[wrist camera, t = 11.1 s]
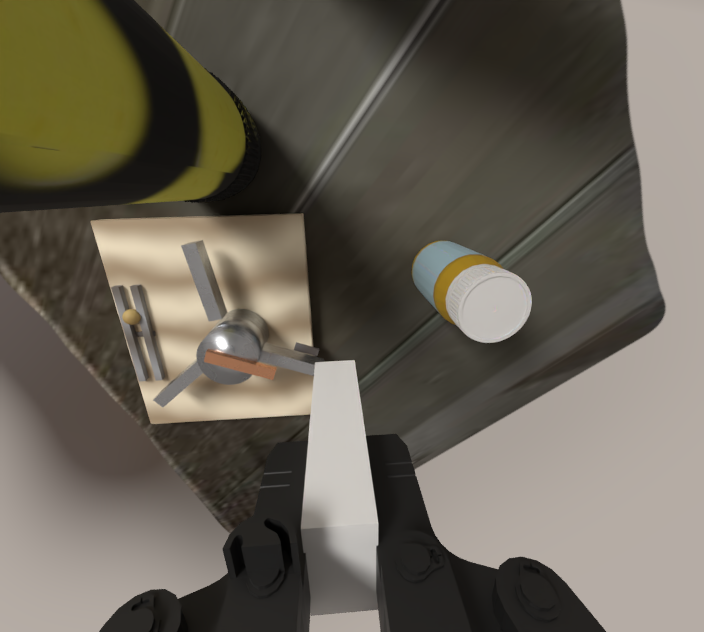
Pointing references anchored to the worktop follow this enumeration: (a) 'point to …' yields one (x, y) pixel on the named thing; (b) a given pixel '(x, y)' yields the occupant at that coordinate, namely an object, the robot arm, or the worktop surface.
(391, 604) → the robot arm
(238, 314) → the capstan
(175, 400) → the stand
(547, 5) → the worktop surface
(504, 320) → the bottle
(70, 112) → the container
